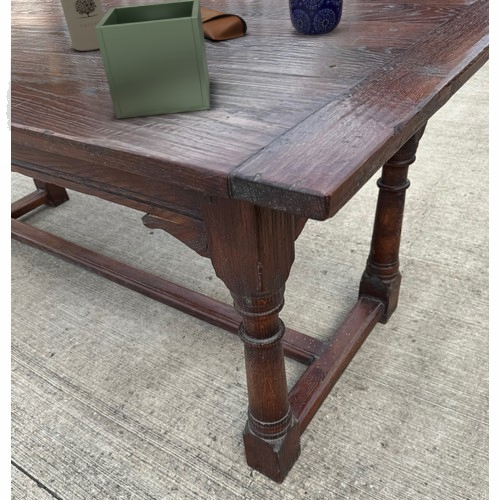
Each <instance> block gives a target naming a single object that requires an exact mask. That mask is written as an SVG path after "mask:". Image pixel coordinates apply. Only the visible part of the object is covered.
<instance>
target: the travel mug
mask: <svg viewBox="0 0 500 500" xmlns="http://www.w3.org/2000/svg"><path fill="white" fill-rule="evenodd" d="M59 1H60V4H61V8H62V11H63V15H64V18H65V22H66V26H67V30H68V33H69V37H70V41H71V45H72V48H73V49H74V50H76V51H78V52H93V51H97V50H100V49H99V45H98V41H97V36H96V32H95V27H96V26H97V24H98V23H99V22H100V21H101V19H102V18H103V17H104V16H105V13H104V9H103V5H102V0H59Z"/></svg>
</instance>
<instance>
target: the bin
mask: <svg viewBox="0 0 500 500" xmlns="http://www.w3.org/2000/svg"><path fill="white" fill-rule="evenodd" d="M200 6H201V2H200V0H174V1H164V2H154V3H143V4H135V5H125V6H114V7H110V8H109V9H108V11H107V12H106V13H104V17H103V18H102V19H101V21H100V22H99V23H98V24H97V26H96V27H95V32H96V36H97V41H98V45H99V49H98V50H99V53H100V56H101V61H102V64H103V69H104V72H105V77H106V81H107V85H108V90H109V93H110V96H111V101H112V105H113V109H114V113H115V117H116V119H117V120H120V119H129V118H140V117H148V116H157V115H158V116H159V115H167V114H168V115H169V114H176V113H178V114H179V113H186V112H188V113H189V112H197V111H206V110H210V107H211V106H210V105H211V103H210V98H211V97H210V93H211V92H210V89H211V88H210V87H211V84H210V83H211V81H210V73H209V63H208V57H207V48H206V42H205V41H206V40H205V38H204V33H203V25H202V17H201V7H200Z"/></svg>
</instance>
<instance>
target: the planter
mask: <svg viewBox="0 0 500 500" xmlns="http://www.w3.org/2000/svg"><path fill="white" fill-rule="evenodd" d="M343 8H344V0H288V9H289V10H288V11H289V19H290V23H291V25H292V27H293V29H294V30H295V31H296V32H297V33H299V34H301V35H304V36H322V35H327V34H330V33H332V32H334V31H335V30H336V29H337V27H338V26H339V25H340V23H341V20H342V16H343Z"/></svg>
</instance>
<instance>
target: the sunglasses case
mask: <svg viewBox="0 0 500 500" xmlns="http://www.w3.org/2000/svg"><path fill="white" fill-rule="evenodd" d="M200 9H201V17H202V25H203V33H204V39H207V40H214V41H223V40H224V41H226V40H231V39H236V38H240V37H243V36H245V35H246V33H247V31H248V25H247V22H246V21H245V19H244V18H242V16H240V15H238V14H235V13H226V12H223V11H220V10H215V9H210V8H206V7H203V6H202V5H200Z"/></svg>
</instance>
